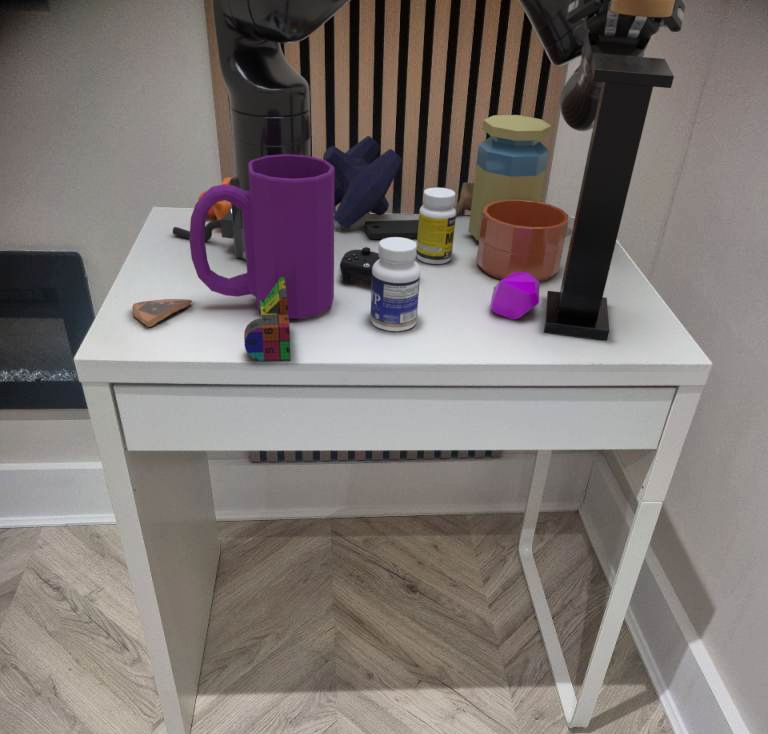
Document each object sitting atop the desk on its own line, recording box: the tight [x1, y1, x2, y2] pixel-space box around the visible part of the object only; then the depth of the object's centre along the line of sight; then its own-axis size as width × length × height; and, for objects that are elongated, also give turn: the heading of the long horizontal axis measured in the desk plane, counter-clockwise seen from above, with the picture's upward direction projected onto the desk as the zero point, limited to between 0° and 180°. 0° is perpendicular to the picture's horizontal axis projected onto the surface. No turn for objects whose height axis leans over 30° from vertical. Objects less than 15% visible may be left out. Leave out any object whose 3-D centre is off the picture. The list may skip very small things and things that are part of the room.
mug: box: [188, 154, 335, 320], centre depth 83 cm, size 9×16×15 cm, turn 100°
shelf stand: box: [543, 53, 675, 341], centre depth 81 cm, size 7×9×26 cm
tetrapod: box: [322, 135, 403, 230], centre depth 109 cm, size 11×12×11 cm
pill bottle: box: [370, 237, 422, 332], centre depth 84 cm, size 5×5×9 cm
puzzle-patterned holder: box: [243, 277, 292, 362], centre depth 80 cm, size 8×5×4 cm
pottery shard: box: [131, 298, 193, 328], centre depth 85 cm, size 7×1×5 cm
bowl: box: [476, 199, 570, 283], centre depth 98 cm, size 11×11×7 cm
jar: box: [468, 114, 552, 242], centre depth 103 cm, size 9×9×15 cm
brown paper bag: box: [454, 182, 474, 216], centre depth 115 cm, size 6×12×8 cm
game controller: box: [339, 246, 380, 283], centre depth 94 cm, size 10×5×6 cm
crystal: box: [489, 272, 541, 321], centre depth 89 cm, size 5×5×5 cm
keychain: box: [363, 219, 419, 240], centre depth 108 cm, size 5×1×10 cm
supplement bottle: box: [416, 187, 457, 265], centre depth 99 cm, size 5×5×8 cm
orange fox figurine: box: [197, 176, 233, 220], centre depth 108 cm, size 5×8×12 cm
